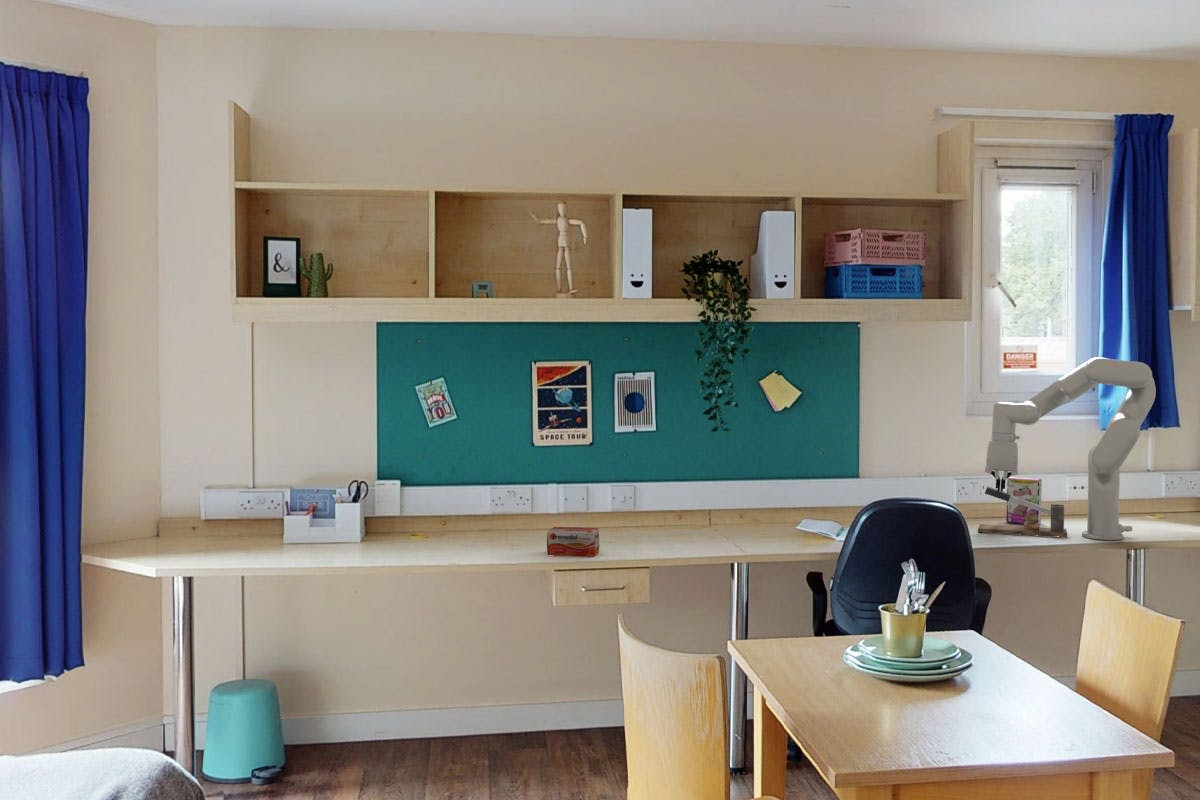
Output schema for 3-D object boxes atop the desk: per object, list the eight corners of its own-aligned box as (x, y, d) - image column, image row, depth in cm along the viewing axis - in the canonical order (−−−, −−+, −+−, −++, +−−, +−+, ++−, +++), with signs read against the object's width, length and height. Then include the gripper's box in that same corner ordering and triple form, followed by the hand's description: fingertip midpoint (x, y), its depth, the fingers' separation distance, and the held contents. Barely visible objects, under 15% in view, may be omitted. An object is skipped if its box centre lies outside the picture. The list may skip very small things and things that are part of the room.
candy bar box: (1005, 523, 391) (1006, 478, 390) (1008, 521, 395) (1009, 476, 394) (1038, 525, 385) (1039, 479, 384) (1041, 523, 389) (1042, 478, 388)
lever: (1059, 517, 367) (1061, 511, 367) (1059, 519, 364) (1061, 513, 363) (985, 492, 375) (987, 486, 375) (984, 493, 372) (986, 487, 372)
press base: (1066, 533, 369) (1066, 504, 369) (1067, 537, 360) (1067, 508, 360) (979, 528, 380) (979, 500, 379) (978, 532, 370) (978, 503, 370)
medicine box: (546, 556, 332) (546, 530, 331) (552, 551, 340) (552, 526, 339) (595, 558, 329) (595, 531, 329) (599, 553, 337) (599, 527, 337)
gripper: (1026, 438, 371) (1023, 491, 373) (980, 435, 377) (977, 487, 378) (1026, 440, 364) (1023, 494, 366) (979, 437, 370) (976, 490, 371)
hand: (1000, 490), depth 372 cm, fingers closed
